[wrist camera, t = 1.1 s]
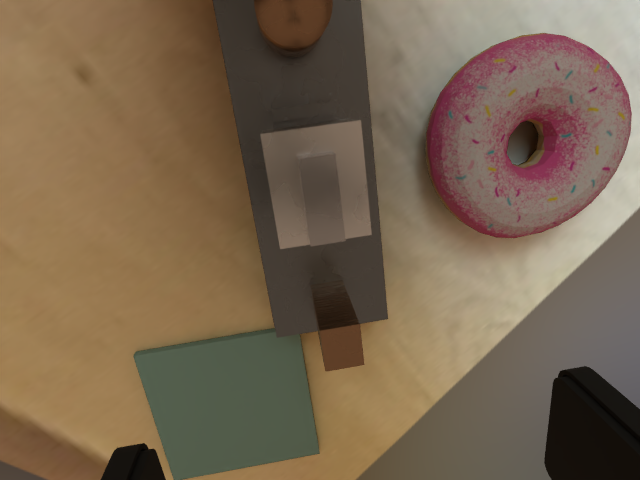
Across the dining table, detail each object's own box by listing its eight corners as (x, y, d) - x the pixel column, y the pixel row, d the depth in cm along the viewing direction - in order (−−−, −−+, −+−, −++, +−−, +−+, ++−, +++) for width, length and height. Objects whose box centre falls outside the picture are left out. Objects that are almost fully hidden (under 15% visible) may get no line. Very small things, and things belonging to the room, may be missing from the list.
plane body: (374, 294, 32) (415, 370, 23) (276, 311, 32) (276, 395, 22) (345, -17, 25) (386, -94, 16) (218, -1, 25) (183, -71, 15)
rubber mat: (135, 351, 32) (133, 356, 31) (298, 324, 32) (298, 328, 32) (175, 475, 36) (174, 480, 35) (318, 448, 36) (319, 453, 36)
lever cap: (355, 214, 26) (376, 241, 20) (279, 226, 25) (280, 257, 20) (345, 118, 24) (366, 120, 18) (263, 130, 24) (259, 135, 18)
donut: (378, 151, 29) (398, 158, 24) (511, -6, 27) (561, -32, 22) (496, 258, 33) (534, 282, 28) (622, 128, 30) (686, 130, 26)
